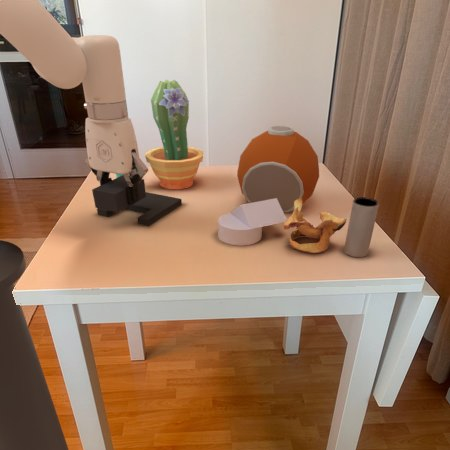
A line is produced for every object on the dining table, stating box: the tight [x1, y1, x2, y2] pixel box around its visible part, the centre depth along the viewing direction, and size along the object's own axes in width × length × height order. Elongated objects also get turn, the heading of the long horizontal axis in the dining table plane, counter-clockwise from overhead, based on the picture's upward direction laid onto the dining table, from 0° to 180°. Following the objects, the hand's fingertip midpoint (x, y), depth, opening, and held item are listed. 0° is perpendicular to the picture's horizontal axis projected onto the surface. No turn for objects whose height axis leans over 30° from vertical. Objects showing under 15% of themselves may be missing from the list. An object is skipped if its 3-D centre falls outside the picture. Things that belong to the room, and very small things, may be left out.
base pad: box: [96, 191, 183, 227], centre depth 98 cm, size 14×14×2 cm
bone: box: [283, 198, 347, 255], centre depth 82 cm, size 12×10×8 cm
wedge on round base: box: [217, 198, 288, 247], centre depth 86 cm, size 9×7×13 cm
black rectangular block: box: [91, 176, 147, 213], centre depth 90 cm, size 6×10×4 cm, turn 154°
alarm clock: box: [236, 125, 320, 213], centre depth 98 cm, size 19×18×17 cm
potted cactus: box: [144, 79, 204, 190], centre depth 107 cm, size 15×15×25 cm
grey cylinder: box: [343, 196, 380, 258], centre depth 79 cm, size 4×4×10 cm
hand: (121, 199), depth 91 cm, fingers closed on black rectangular block, 6 cm apart
